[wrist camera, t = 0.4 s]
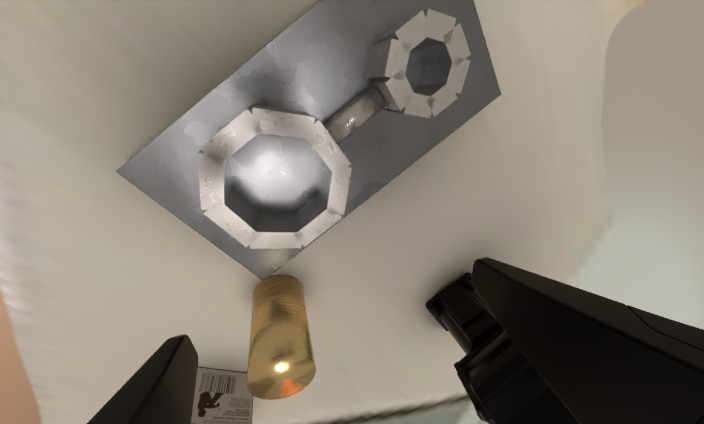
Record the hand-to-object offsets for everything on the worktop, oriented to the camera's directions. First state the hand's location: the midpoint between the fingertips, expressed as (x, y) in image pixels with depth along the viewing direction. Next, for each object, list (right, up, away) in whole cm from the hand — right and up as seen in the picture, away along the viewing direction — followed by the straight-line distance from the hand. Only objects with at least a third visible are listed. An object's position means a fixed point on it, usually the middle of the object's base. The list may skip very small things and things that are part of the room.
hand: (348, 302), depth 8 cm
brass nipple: (-7, -5, +16) cm, 18 cm away
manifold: (-1, +9, +11) cm, 14 cm away
